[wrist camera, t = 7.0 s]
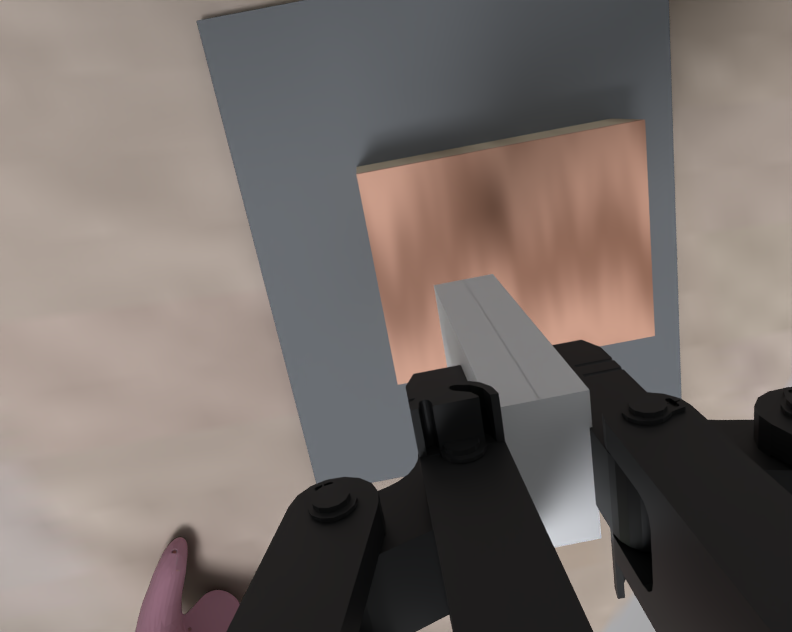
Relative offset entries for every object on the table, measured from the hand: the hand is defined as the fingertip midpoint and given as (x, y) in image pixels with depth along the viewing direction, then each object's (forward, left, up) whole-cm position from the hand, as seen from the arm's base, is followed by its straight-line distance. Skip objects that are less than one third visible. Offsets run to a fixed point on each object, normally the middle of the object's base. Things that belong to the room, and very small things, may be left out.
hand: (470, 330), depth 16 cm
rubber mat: (0, +2, -11) cm, 11 cm away
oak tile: (0, -2, -8) cm, 9 cm away
